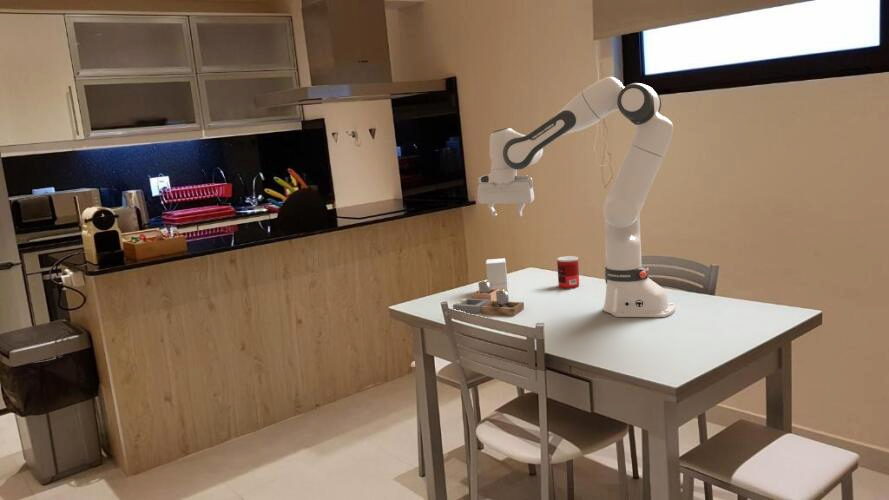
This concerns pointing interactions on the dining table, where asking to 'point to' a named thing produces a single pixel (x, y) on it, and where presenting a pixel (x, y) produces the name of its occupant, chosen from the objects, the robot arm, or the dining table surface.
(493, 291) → the pink square tray
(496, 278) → the supplement box
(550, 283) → the dining table surface
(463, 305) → the grey square tray
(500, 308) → the trough
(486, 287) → the cell
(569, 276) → the canned food
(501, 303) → the cell
